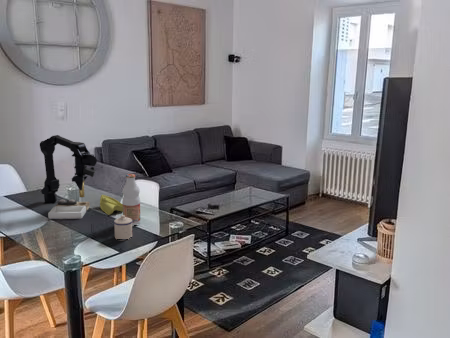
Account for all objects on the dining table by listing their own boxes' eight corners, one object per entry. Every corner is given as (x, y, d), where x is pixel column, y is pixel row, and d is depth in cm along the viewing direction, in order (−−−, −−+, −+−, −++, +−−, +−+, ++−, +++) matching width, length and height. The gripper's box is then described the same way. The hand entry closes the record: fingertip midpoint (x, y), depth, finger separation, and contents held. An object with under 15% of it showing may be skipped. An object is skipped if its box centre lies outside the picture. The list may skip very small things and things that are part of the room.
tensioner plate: (55, 210, 242) (55, 202, 241) (59, 206, 250) (59, 198, 248) (86, 210, 244) (86, 202, 243) (89, 206, 252) (89, 198, 250)
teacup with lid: (136, 237, 207) (135, 215, 204) (121, 242, 200) (120, 220, 197) (122, 231, 215) (122, 210, 212) (107, 235, 208) (106, 214, 205)
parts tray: (48, 218, 228) (48, 213, 227) (54, 211, 240) (54, 206, 239) (81, 218, 230) (81, 212, 230) (86, 211, 242) (85, 206, 241)
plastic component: (128, 208, 244) (114, 204, 237) (123, 219, 244) (109, 215, 237) (113, 197, 258) (99, 193, 251) (108, 208, 258) (95, 204, 251)
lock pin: (77, 197, 243) (76, 181, 241) (79, 195, 247) (78, 179, 245) (84, 197, 244) (83, 181, 242) (86, 195, 248) (85, 179, 246)
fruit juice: (119, 224, 224) (118, 175, 218) (132, 219, 231) (131, 172, 225) (131, 228, 219) (129, 178, 212) (144, 223, 226) (143, 174, 220)
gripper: (90, 167, 233) (92, 193, 237) (97, 161, 251) (98, 185, 255) (70, 167, 232) (72, 193, 235) (78, 160, 250) (79, 185, 253)
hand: (81, 189), depth 245 cm, fingers closed on lock pin, 3 cm apart
